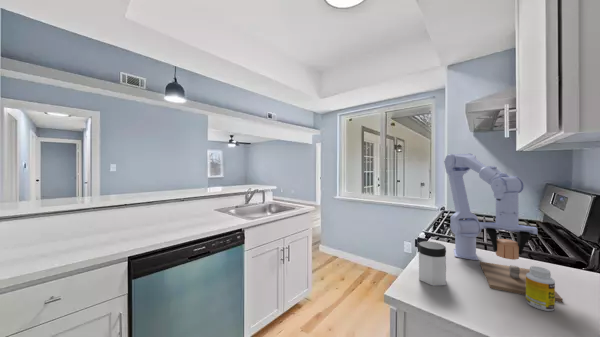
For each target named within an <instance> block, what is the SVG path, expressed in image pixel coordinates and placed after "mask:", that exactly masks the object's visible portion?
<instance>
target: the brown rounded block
mask: <svg viewBox="0 0 600 337" xmlns="http://www.w3.org/2000/svg"><path fill="white" fill-rule="evenodd" d="M495 255H496V256H497V257H499V258H502V259H507V260H512V261H513V260H514V261H515V260H520V255H519V246H518V242H517V240H516V241H515V240H511V239H508V238H507V239H506V238H497V251H495Z"/></svg>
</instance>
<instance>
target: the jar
mask: <svg viewBox="0 0 600 337" xmlns="http://www.w3.org/2000/svg"><path fill="white" fill-rule="evenodd" d="M417 245H418V280H419V281H421V282H422V283H426V284H427V285H430V286H434V287H436V286H446V285H447V257H446V254H447V248H446V245H444V244H442V243H440V242H435V241H427V240H424V241H419V243H418V244H417Z"/></svg>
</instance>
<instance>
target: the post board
mask: <svg viewBox="0 0 600 337" xmlns="http://www.w3.org/2000/svg"><path fill="white" fill-rule="evenodd" d="M479 266H480V267H481V270H482V272H483V275H484V277H485V279H486V281H487V282H486V283H488V286H489V288H490V289H493V290H494V289H495V290H498V291H504V292H509V293H514V294H518V295H523V296H526V274H527V273H529V272H530V268H523V267H520V266H517V265H512V264H511V265H505V264H499V263H492V262H486V261H479ZM563 301H564V300H563V298H562V297H561V295H559V293H558V292H557V291H556V290H555V302H557V303H558V302H559V303H563Z"/></svg>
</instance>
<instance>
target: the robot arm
mask: <svg viewBox="0 0 600 337" xmlns="http://www.w3.org/2000/svg"><path fill="white" fill-rule="evenodd" d="M443 162H444V167H445V172H446V174H447V176H448V181H449V184H450V191H451V195H452V196H451V197H452V201H453V205H454V206H453V207H454V210H455V212H454V213H453V214H452V215H451V216H450V217H449V218H450V219H449V220H450V223H449V227H450V230H451V232H452V233H453V234H454V235H455V238H454V239H455V240H454V242H455V243H454V244H455V245H454V247H455V248H453V254H454V257H456V258H461V259H467V260H472V261H473V260H474V261H479V257H478V255H477V237H478V236H479V234H481V232H482V230H483V229H485V231H486V232H487V234H488V236H489V238H490V241H491V244H492V249H493V251H494V252H496V251H497V239H498V233H497V231H504V232H505V231H506V232H515V234H516V242H518V246H519V256H522V253H523V250H524V248H525V246H526V244H527V242H528V241H529V240H530V239H531V237H532V236H531V234H532V235H539V234H538V231H539V230H538V228H537V227H536V226H528V225H524V224H519V194H520V193H522V192H523V190H524V187H525V184H524V181H523V180H522V178H520V177H519V176H516V175H514V176H513V175H508V174H507V173H506V172H503V171H501V170H500V169H498V168H497V166H496V165H488V166H487V165H486V164H484V163H483V162H481V161H480V160H478V159H477V157H476V155H474V154H473V153H448V154H447V155H446V156H445V159H444V161H443ZM471 170H473V171H474V172H475V173H477V174H478V176H479V178H480V179H481V180H482V181H484V182H485V183H487V184H488V185H489V186H490V188H491V191H492V192H493V197H494V199H495V222H489V221H488V222H487V221H485V222H484V221H479V219H478V216H477V215H476V214H475V213H473V212H471V209H470V204H469V198H468V195H467V190H466V187H465V181H464V176H465V175H466V174H467V173H468V172H469V171H471Z"/></svg>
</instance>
